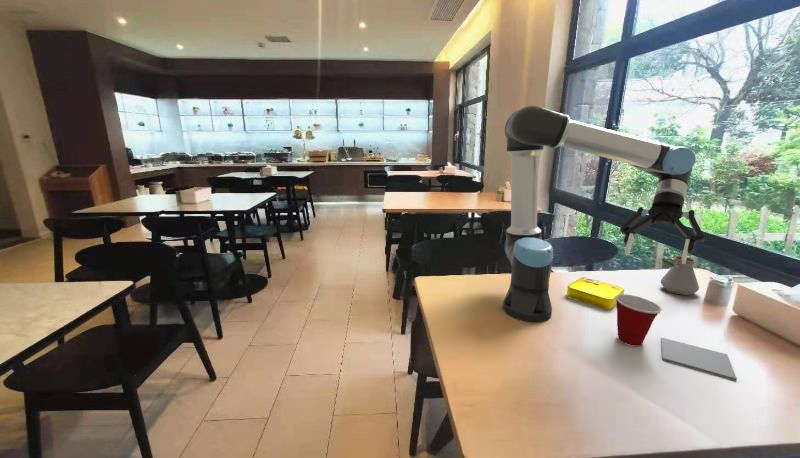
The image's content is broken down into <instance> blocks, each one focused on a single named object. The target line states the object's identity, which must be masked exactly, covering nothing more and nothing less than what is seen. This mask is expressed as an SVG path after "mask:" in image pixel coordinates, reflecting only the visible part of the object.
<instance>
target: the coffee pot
mask: <svg viewBox="0 0 800 458" xmlns="http://www.w3.org/2000/svg"><path fill="white" fill-rule="evenodd" d="M673 259H674V262H675V263H673V262H672V261H670V260H668V259H665V258H662V259H659V260H658V261H657V262H658V263H660V262H659V261H663V265H665V264H667V265H668V266H671V268H669V270H668V271H667V272H666V273H665V274H664V276H662V277H661V280H660V283H661V285H662V287H663V288H664V289H665V288H666V289H665V290H666V291H667V290H668V291H667V292H669V291H670V292H669V293H671V292H672V293H671V294H674V293H675V295H678V294H681V295H680V296H690V294H691V295H692V294H695V293H697V292H698V291H699V289H700V286H699V282H698V279H697V276H696V273H695V271H694V269H695V268H694V266H693V265H695V263H697V260H695V259H693V258H690V257H687V259H686V264H682V260H681V259H682V256H673Z"/></svg>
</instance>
